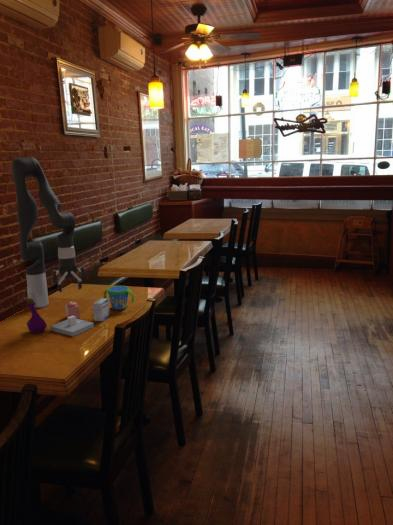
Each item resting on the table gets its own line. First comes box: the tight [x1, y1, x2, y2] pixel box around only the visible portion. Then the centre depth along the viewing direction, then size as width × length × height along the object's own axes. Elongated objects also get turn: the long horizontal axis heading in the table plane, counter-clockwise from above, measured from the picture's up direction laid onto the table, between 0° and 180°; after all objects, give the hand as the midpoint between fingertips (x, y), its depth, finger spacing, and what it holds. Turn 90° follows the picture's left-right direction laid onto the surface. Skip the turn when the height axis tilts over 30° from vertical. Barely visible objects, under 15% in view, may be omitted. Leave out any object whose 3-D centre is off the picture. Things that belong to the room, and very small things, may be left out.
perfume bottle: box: [25, 291, 48, 335], centre depth 184 cm, size 8×8×18 cm
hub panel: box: [50, 316, 95, 338], centre depth 188 cm, size 14×12×6 cm
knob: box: [65, 301, 81, 320], centre depth 202 cm, size 5×6×7 cm
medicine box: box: [92, 297, 111, 322], centre depth 199 cm, size 8×4×9 cm, turn 168°
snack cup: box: [103, 285, 135, 311], centre depth 213 cm, size 16×10×10 cm
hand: (70, 290), depth 199 cm, fingers open, 8 cm apart
